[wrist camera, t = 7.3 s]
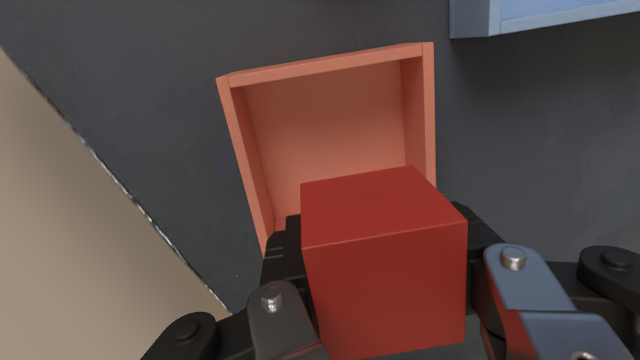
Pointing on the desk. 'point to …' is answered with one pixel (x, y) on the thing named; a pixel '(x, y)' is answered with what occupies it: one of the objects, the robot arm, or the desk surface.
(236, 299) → the desk surface
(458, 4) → the blue bin
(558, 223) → the desk surface
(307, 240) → the red block
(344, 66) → the red bin
